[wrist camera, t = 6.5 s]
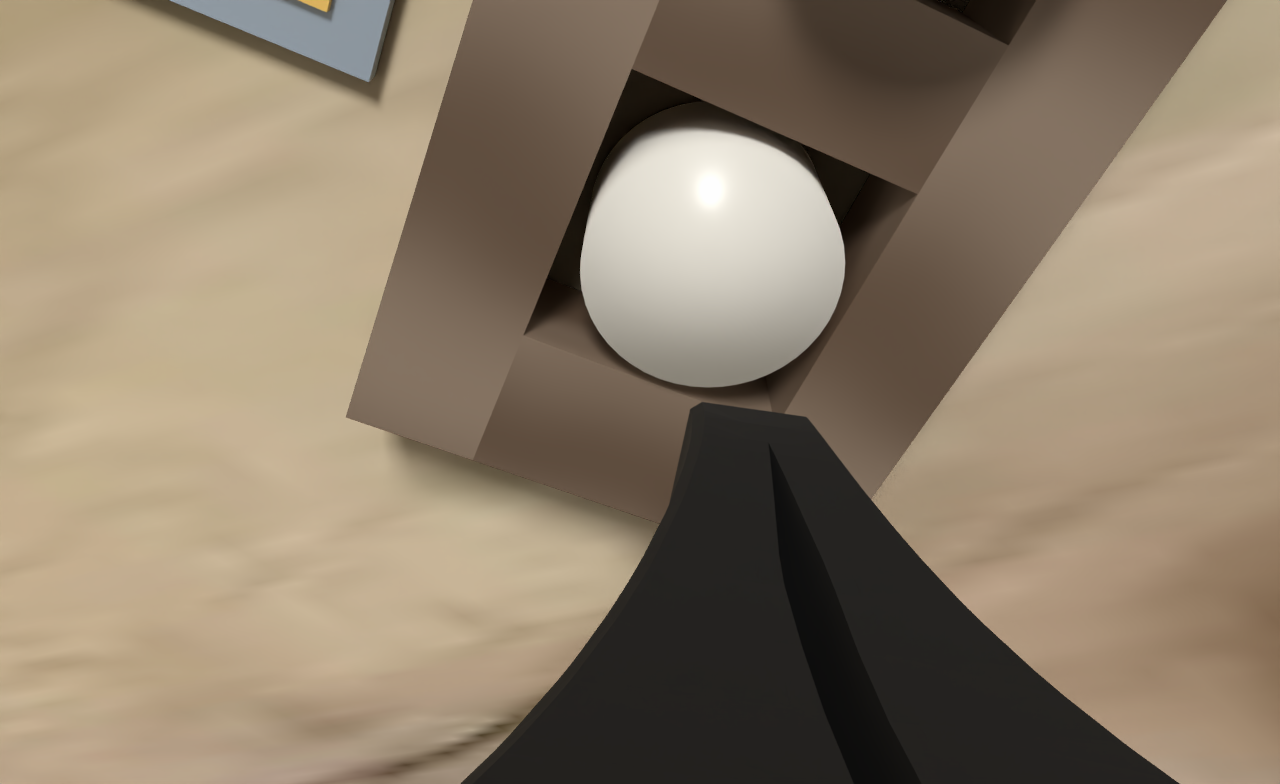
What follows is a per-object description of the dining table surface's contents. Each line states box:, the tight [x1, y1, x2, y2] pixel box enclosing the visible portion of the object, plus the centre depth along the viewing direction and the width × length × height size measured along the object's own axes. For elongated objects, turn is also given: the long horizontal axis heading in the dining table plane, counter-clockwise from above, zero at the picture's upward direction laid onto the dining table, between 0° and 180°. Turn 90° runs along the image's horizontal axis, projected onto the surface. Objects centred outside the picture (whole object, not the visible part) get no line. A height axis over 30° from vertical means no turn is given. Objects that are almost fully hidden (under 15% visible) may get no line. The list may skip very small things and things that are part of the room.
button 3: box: [580, 102, 845, 387], centre depth 17 cm, size 4×4×2 cm
